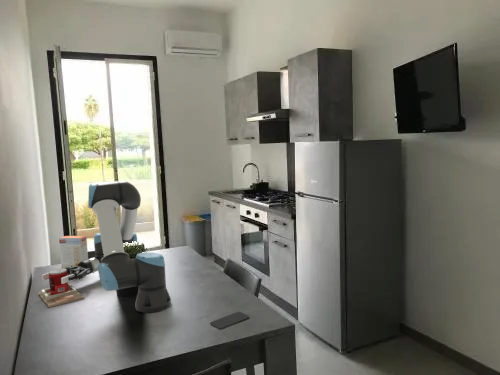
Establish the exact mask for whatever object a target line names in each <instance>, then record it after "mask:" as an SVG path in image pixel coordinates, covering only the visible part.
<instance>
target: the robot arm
mask: <svg viewBox="0 0 500 375" xmlns="http://www.w3.org/2000/svg"><path fill="white" fill-rule="evenodd" d="M141 198H142V197H141V194H140V192H139V190H138V188H137V187H136V186H135V185H133V184H132V183H130V182H128V181H124V180H120V181H107V182H106V181H104V182H99V181H97V182H93V183H90V184H89V186H88V200H87V201H88V206H87V207H88V208H89V209H92V212H93V213H94V214H95V215H96V218H97V223H98V228H99V232H97V233H95V234H94V235H93V245H94V246H93V247H94V257H91V258H88V259H87V260H85V261H81V262H80V263H79V264H78V266H74V267H73V266H69V267H65V269H66V270H67V276H66V277H63V278H61V284H64V283H67V282H68V283H70V282H72V281H75V280H82V279H83V278H85V277H86V276H88V275H91V274H95V273H96V272H98V277H99V281H100V284H101V286H102V289H103V290H105V291H106V292H111V291H118V290H123V289H128V288H133V287H138V288H137V289H138V291H137V294H136V300H135V303H134V305H135V307H134V308H135V310H136V311H137V312H140V313H144V314H150V313H152V314H153V313H157V312H161V311H162V312H163V311H164V310H167V309H168V308H170V307H171V305H172V299H171V296H170V293H169V291H168V289H167V284H166V282H167V279H166V262H165V256H164V255H163V254H160V253H157V252H149V251H147V252H139V253H137V254H136V255H135V258H130V255H129V253H127V252H125V248H124V247H123V243H125V242H128V243H132V241H136V242H137V243H138V236H137V234H136V232H135V228H136V227H135V226H136V221H137V215H138V209H139V208H140V206H141V200H142V199H141ZM120 206H121V215H120V223H119V218H118V213H117V210H118V209H119V207H120ZM103 254H104V255H103ZM70 272H71V273H70ZM46 280H49V272H47V273H44V274H41V281H46Z"/></svg>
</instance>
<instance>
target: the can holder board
mask: <svg viewBox="0 0 500 375" xmlns="http://www.w3.org/2000/svg"><path fill="white" fill-rule="evenodd" d="M40 290H41V291H38V296H39V298H41V300H42V301H43V303H45V305H46V306H47V308H49V309H50V308H54V307H56V306H57V307H58V306H60V305H65V304H70V303H74V302H78V301H82V300H85V296H83V295H82V293H80V291H78V289H76V288H75V287H74V286H73V285H72V284H71V283H68V292H64V293H59V294H55V295H51V293H50V287H48V288H42V289H40Z"/></svg>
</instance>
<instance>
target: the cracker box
mask: <svg viewBox="0 0 500 375" xmlns="http://www.w3.org/2000/svg"><path fill="white" fill-rule="evenodd" d="M58 240H59V253H60V254H59V255H60V263H61V268H65V267H69V266H73V267H74V266H78V264H79V263H80V262H81V261H85V260H87V259H89V253H88V252H89V250H88V239H87V236H86V235H65V236H64V235H63V236H61V237H59V238H58ZM70 273H71V272H70Z"/></svg>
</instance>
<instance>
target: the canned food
mask: <svg viewBox="0 0 500 375" xmlns="http://www.w3.org/2000/svg"><path fill="white" fill-rule="evenodd" d="M48 273H49V279H48V280H49V281H48V282H49V288H50V293H51V295H55V294H59V293H64V292H68V284H69V282H67V283H64V284H61V278H63V277H66V276H68V274H67V270H66V269H65V268H62V267H59V268H54V269H51V270H49V271H48Z"/></svg>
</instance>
